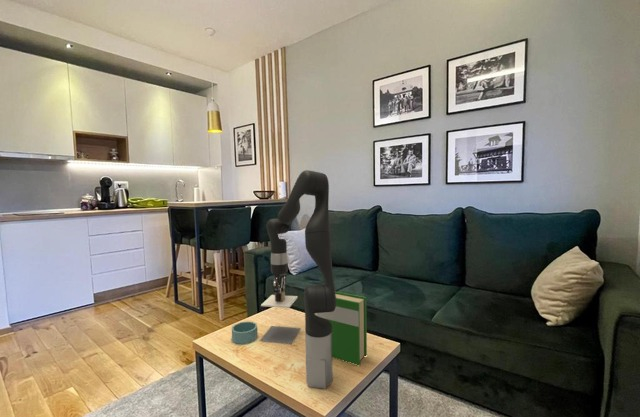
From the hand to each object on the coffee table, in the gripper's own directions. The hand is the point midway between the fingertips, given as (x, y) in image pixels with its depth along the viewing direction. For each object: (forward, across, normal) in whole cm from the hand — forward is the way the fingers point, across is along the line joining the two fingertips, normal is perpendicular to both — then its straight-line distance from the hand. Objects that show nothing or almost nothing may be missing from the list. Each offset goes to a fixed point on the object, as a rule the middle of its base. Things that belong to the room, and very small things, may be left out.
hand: (280, 299), depth 132 cm
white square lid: (+1, 0, 0) cm, 1 cm away
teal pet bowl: (+17, -6, +15) cm, 23 cm away
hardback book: (+17, -11, -30) cm, 36 cm away
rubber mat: (+17, 0, 0) cm, 17 cm away
